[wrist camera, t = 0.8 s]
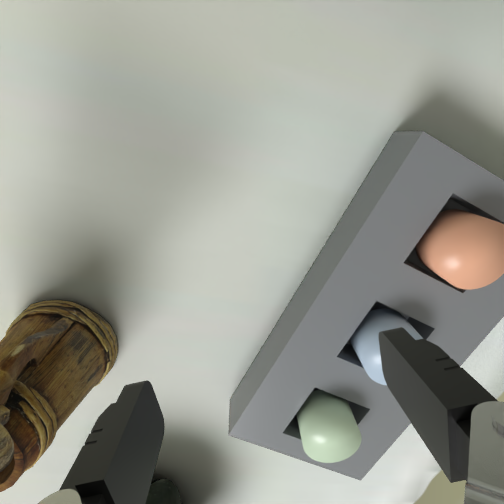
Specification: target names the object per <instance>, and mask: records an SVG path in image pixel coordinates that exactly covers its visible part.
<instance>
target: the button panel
mask: <svg viewBox="0 0 504 504" xmlns="http://www.w3.org/2000/svg"><path fill="white" fill-rule="evenodd" d="M451 209H459V210H464V211H467V212H470V213H473V214H476V215H479V216H482V217H485V218H488V219H491V220H494V221H497V222H500V223H502V224H504V180H502V179H501V178H499V177H497V176H496V175H494V174H493V173H491V172H489V171H488V170H486V169H484V168H483V167H481V166H480V165H478V164H476V163H475V162H473V161H471V160H470V159H468V158H467V157H465V156H463V155H462V154H460V153H458V152H457V151H455V150H453V149H452V148H450V147H449V146H447V145H445V144H444V143H442V142H440V141H439V140H437V139H436V138H434V137H432V136H431V135H429V134H427V133H426V132H424V131H397V132H394V133H393V134H392V136H391V138H390V139H389V141H388V143H387V144H386V146H385V147H384V149H383V151H382V152H381V154H380V156H379V157H378V159H377V160H376V162H375V164H374V165H373V167H372V169H371V170H370V172H369V174H368V175H367V177H366V178H365V180H364V182H363V183H362V185H361V187H360V188H359V190H358V191H357V193H356V195H355V196H354V198H353V200H352V201H351V203H350V205H349V206H348V208H347V209H346V211H345V213H344V214H343V216H342V218H341V219H340V221H339V222H338V224H337V226H336V227H335V229H334V231H333V232H332V234H331V236H330V237H329V239H328V240H327V242H326V244H325V245H324V247H323V249H322V250H321V252H320V254H319V255H318V257H317V258H316V260H315V262H314V263H313V265H312V267H311V268H310V270H309V271H308V273H307V275H306V276H305V278H304V280H303V281H302V283H301V285H300V286H299V288H298V289H297V291H296V293H295V294H294V296H293V298H292V299H291V301H290V302H289V304H288V306H287V307H286V309H285V311H284V312H283V314H282V316H281V317H280V319H279V320H278V322H277V324H276V325H275V327H274V329H273V330H272V332H271V333H270V335H269V337H268V338H267V340H266V342H265V343H264V345H263V347H262V348H261V350H260V351H259V353H258V355H257V356H256V358H255V360H254V361H253V363H252V364H251V366H250V368H249V369H248V371H247V373H246V374H245V376H244V378H243V379H242V381H241V382H240V384H239V386H238V387H237V389H236V391H235V392H234V394H233V395H232V397H231V399H230V410H229V436H232V437H235V438H238V439H241V440H244V441H247V442H250V443H253V444H256V445H259V446H262V447H265V448H267V449H270V450H273V451H276V452H279V453H282V454H285V455H288V456H291V457H294V458H297V459H300V460H303V461H305V462H308V463H311V464H314V465H317V466H320V467H323V468H326V469H329V470H332V471H335V472H338V473H341V474H344V475H346V476H349V477H352V478H355V479H358V480H361V479H362V478H363V477H364V476H365V475H366V474H367V473H368V471H369V470H370V469H371V468H372V467H373V466H374V465H375V463H376V462H377V461H378V460H379V459H380V458H381V457H382V455H383V454H384V453H385V452H386V451H387V450H388V448H389V447H390V446H391V445H392V444H393V443H394V442H395V440H396V439H397V438H398V437H399V436H400V435H401V434H402V432H403V431H404V430H405V429H406V428H407V427H408V426H409V424H410V423H411V422H410V420H409V419H408V417H407V416H406V414H405V412H404V411H403V409H402V408H401V406H400V405H399V403H398V402H397V400H396V399H395V397H394V396H393V394H392V393H391V391H390V390H389V388H388V386H387V385H382V384H379V383H377V382H375V381H373V380H372V379H371V378H370V377H369V376H368V374H367V373H366V371H365V369H364V367H363V365H362V363H361V361H360V359H359V358H358V356H357V354H356V352H355V350H354V348H353V346H352V344H351V340H350V337H351V336H352V335H353V333H354V332H355V330H356V329H357V327H358V326H359V325H360V323H361V322H362V320H363V319H364V318H365V316H366V315H367V313H368V312H370V311H372V310H375V309H382V308H386V309H392V310H395V311H397V312H399V313H400V314H401V315H402V316H403V317H404V318H405V319H406V320H407V321H408V322H409V323H410V324H411V325H412V327H413V328H414V329H415V330H416V331H417V332H418V333H419V334H420V335H421V337H422V338H423V339H425V340H427V341H429V342H431V343H433V344H435V345H437V346H439V347H440V348H441V349H442V350H443V351H445V352H446V353H447V354H448V355H449V356H450V358H451V359H453V360H454V361H455V362H456V363H457V364H459V366H461V365H462V364H463V362H464V361H465V360H466V359H467V358H468V357H469V356H470V354H471V353H472V352H473V351H474V350H475V349H476V347H477V346H478V345H479V344H480V343H481V342H482V341H483V339H484V338H485V337H486V336H487V335H488V334H489V333H490V331H491V330H492V329H493V328H494V327H495V326H496V325H497V323H498V322H499V321H500V320H501V319H502V318H503V316H504V274H503V275H502V276H501V277H499V278H498V279H497V280H496V281H494V282H493V283H491V284H489V285H487V286H485V287H482V288H478V289H471V290H467V289H461V288H457V287H455V286H453V285H452V284H450V283H449V282H447V281H446V280H445V279H443V278H442V277H440V276H439V275H437V274H436V273H435V272H433V271H432V270H430V269H429V268H428V267H426V266H425V265H424V264H422V262H421V261H420V260H419V258H418V256H417V252H416V244H417V243H418V242H419V240H420V239H421V237H422V236H423V235H424V233H425V232H426V230H427V229H428V228H429V226H430V225H431V223H432V222H433V221H434V219H435V218H436V216H437V215H438V214H439V213H440V212H443V211H446V210H451ZM316 390H323V391H325V392H328V393H331V394H333V395H336V396H338V397H341V398H343V399H346V400H347V401H348V403H349V406H350V408H351V411H352V413H353V416H354V418H355V421H356V423H357V426H358V428H359V430H360V433H361V444H360V446H359V448H358V450H357V451H356V452H355V453H354V454H353V455H352V456H350V457H349V458H347V459H345V460H342V461H339V462H334V463H323V462H318V461H315V460H313V459H311V458H310V457H309V456H308V455H307V454H306V453H305V451H304V449H303V444H302V439H301V434H300V429H299V424H298V420H297V415H296V413H297V412H298V410H299V409H300V408H301V406H302V405H303V403H304V402H305V401H306V399H307V398H308V396H309V395H310V394H311V392H313V391H316Z"/></svg>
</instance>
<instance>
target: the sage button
mask: <svg viewBox="0 0 504 504" xmlns="http://www.w3.org/2000/svg"><path fill="white" fill-rule="evenodd" d="M296 415H297V420H298V424H299V429H300V434H301V439H302V444H303V449H304V451H305V453H306V454H307V455H308V456H309V457H310V458H311V459H313V460H315V461H318V462H323V463H334V462H339V461H342V460H345V459H347V458H349V457H350V456H352V455H353V454H354V453H355V452H356V451H357V450H358V448H359V446H360V444H361V433H360V430H359V428H358V426H357V423H356V421H355V418H354V416H353V413H352V411H351V408H350V406H349V403H348V401H347V400H346V399H343V398H341V397H338V396H336V395H333V394H331V393H328V392H325V391H323V390H316V391H313V392H311V394H310V395H309V396H308V398H307V399H306V401H305V402H304V403H303V405H302V406H301V408H300V409H299V410H298V412H297V413H296Z"/></svg>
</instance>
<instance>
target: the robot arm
mask: <svg viewBox="0 0 504 504" xmlns="http://www.w3.org/2000/svg"><path fill="white" fill-rule="evenodd" d="M379 346H380V355H381V363H382V371H383V375H384V379H385V381H386V384H387V386H388V388H389V390H390V391H391V393H392V394H393V396H394V397H395V399H396V400H397V402H398V403H399V405H400V406H401V408H402V409H403V411H404V412H405V414H406V416H407V417H408V419H409V420H410V422H411V423H412V425H413V426H414V428H415V429H416V431H417V432H418V434H419V435H420V437H421V438H422V440H423V441H424V443H425V444H426V446H427V447H428V449H429V450H430V452H431V453H432V455H433V456H434V458H435V460H436V461H437V463H438V464H439V466H440V467H441V469H442V470H443V471H444V473H445V475H446V476H447V478H448V479H449V481H450V482H451V483H452V482H457V481H462V480H466V481H467V483H466V486H465V500H464V504H504V402H499V401H497V400H496V399H495V398H494V397H493V396H492V395H491V394H490V393H489V392H488V391H487V390H485V389H484V388H483V387H482V386H481V385H480V384H479V383H478V382H477V381H476V380H475V379H474V378H473V377H471V376H470V375H469V374H468V373H467V372H466V371H465V370H464V369H463V368H460V366H459V364H457V363H456V362H455V361H454V360H453V359H451V358H450V356H449V355H448V354H447V353H446V352H445V351H443V350H442V349H441V348H440V347H439V346H437V345H435V344H433V343H431V342H429V341H427V340H425V339H419V340H415V339H414V338H413V337H412V336H411V335H410V334H409V333H408V332H407V331H406V330H405V329H404V328H402V327H400V328H395V329H390V330H386V331H381V332H379ZM163 436H164V419H163V415H162V412H161V409H160V406H159V404H158V401H157V398H156V395H155V393H154V390H153V387H152V385H151V383H150V382H149V381H143V382H138V383H133V384H129V385H126V386H124V388H123V390H122V392H121V394H120V396H119V398H118V400H117V402H116V403H113V404H111V405H110V406H109V407H108V408H107V409H106V410H105V411H104V412H103V413H102V414H101V415H100V416H99V417H98V419H97V421H96V423H95V425H94V427H93V429H92V430H91V434H89V436H88V438H87V440H86V442H85V446H83V447H82V449H81V451H80V453H79V455H78V456H77V458H76V460H75V462H74V464H73V466H72V468H71V469H70V471H69V473H68V475H67V477H66V479H65V481H64V482H63V484H62V486H61V488H60V490H59V491H57V492H55V493H53V494H51V495H49V496H48V497H46V498H44V499H43V500H42V501H40V502H39V503H38V504H145V503H146V500H147V496H148V492H149V488H150V485H151V481H152V477H153V473H154V470H155V466H156V462H157V459H158V455H159V451H160V447H161V444H162V440H163Z"/></svg>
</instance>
